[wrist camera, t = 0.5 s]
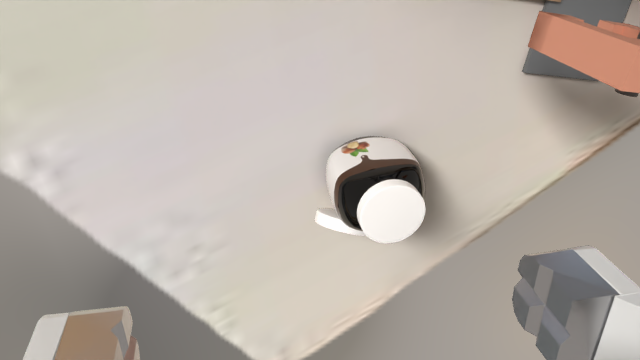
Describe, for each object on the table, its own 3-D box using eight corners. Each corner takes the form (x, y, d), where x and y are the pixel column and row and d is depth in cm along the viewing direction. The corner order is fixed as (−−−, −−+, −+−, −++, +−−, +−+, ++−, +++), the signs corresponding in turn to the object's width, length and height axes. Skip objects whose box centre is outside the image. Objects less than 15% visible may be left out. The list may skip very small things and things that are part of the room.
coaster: (552, -21, 57) (555, -20, 56) (630, -8, 59) (634, -7, 59) (522, 71, 61) (524, 72, 61) (596, 79, 63) (599, 81, 63)
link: (539, 11, 45) (639, 46, 35) (628, 23, 47) (748, 61, 37) (527, 46, 46) (621, 90, 36) (614, 57, 48) (726, 102, 38)
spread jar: (402, 126, 62) (441, 172, 52) (406, 208, 67) (441, 263, 57) (300, 146, 60) (320, 196, 50) (313, 227, 66) (333, 288, 56)
